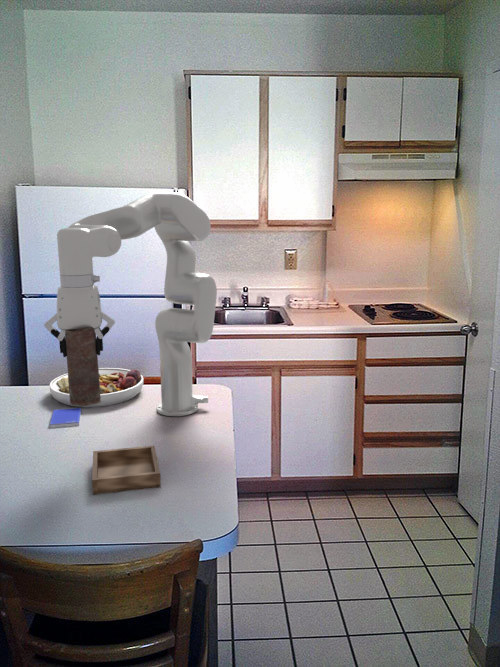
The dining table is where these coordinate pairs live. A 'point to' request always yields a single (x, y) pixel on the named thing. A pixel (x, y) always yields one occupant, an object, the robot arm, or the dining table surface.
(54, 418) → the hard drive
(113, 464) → the wooden tray
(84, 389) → the candle
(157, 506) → the dining table surface
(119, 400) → the bowl
